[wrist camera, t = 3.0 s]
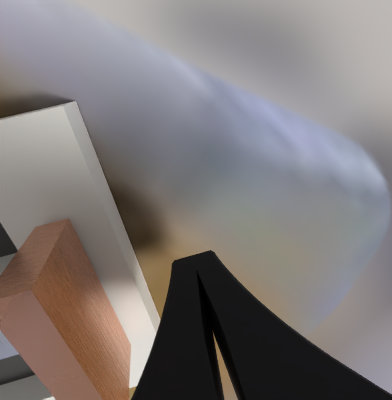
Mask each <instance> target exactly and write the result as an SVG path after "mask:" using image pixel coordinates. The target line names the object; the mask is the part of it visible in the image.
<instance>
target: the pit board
mask: <svg viewBox="0 0 392 400" xmlns="http://www.w3.org/2000/svg"><path fill="white" fill-rule="evenodd" d="M67 218H69V219H70V221H71V224H72V226H73V228H74V230H75V232H76V234H77V236H78V238H79V240H80V242H81V244H82V246H83V248H84V250H85V252H86V254H87V256H88V258H89V260H90V262H91V264H92V266H93V269H94V271H95V273H96V275H97V277H98V279H99V281H100V283H101V285H102V287H103V289H104V291H105V293H106V295H107V297H108V299H109V301H110V303H111V305H112V307H113V309H114V311H115V313H116V316H117V318H118V320H119V322H120V324H121V326H122V328H123V330H124V332H125V334H126V336H127V338H128V340H129V342H130V344H131V359H130V380H129V388H131V387H134V386H137V385H138V382H139V380H140V377H141V375H142V372H143V370H144V367H145V365H146V362H147V359H148V357H149V354H150V351H151V348H152V346H153V342H154V339H155V336H156V333H157V330H158V327H159V324H160V321H161V320H160V318H159V315H158V312H157V310H156V307H155V305H154V302H153V300H152V297H151V294H150V292H149V289H148V287H147V284H146V281H145V279H144V276H143V274H142V271H141V269H140V266H139V263H138V261H137V258H136V256H135V253H134V250H133V248H132V245H131V243H130V240H129V238H128V235H127V232H126V230H125V227H124V225H123V222H122V219H121V217H120V214H119V212H118V209H117V207H116V204H115V201H114V199H113V196H112V194H111V191H110V188H109V186H108V183H107V181H106V178H105V176H104V173H103V170H102V168H101V165H100V163H99V160H98V157H97V155H96V152H95V150H94V147H93V145H92V142H91V139H90V137H89V134H88V132H87V129H86V126H85V124H84V121H83V119H82V116H81V113H80V111H79V108H78V106H77V103H76V101H73V102H69V103H64V104H60V105H56V106H51V107H47V108H43V109H39V110H34V111H30V112H26V113H22V114H17V115H13V116H9V117H4V118H0V275H1V274H2V272H3V271H4V269H5V268H6V267H7V265H8V264H9V263H10V261H11V260H12V258H13V257H14V256H15V254H16V253H17V251H18V250H19V249H20V247H21V246H22V245H23V243H24V242H25V240H26V239H27V238H28V236H29V235H30V233H31V232H32V231H33V229H34V228H35V227H37V226H41V225H45V224H48V223H52V222H56V221H60V220H64V219H67ZM0 400H56V399H55V398H54V397H53V396H52V394H51V393H50V392H49V391H48V389H47V388H46V387H45V386H44V384H43V383H42V382H41V381H40V379H39V378H38V377H37V376H36V374H35V373H34V372H33V371H32V369H31V368H30V367H29V366H28V364H27V363H26V362H25V361H24V359H23V358H22V357H21V356H20V354H18V355H14V356H11V357H8V358H4V359H1V360H0Z"/></svg>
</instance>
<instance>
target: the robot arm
mask: <svg viewBox="0 0 392 400" xmlns="http://www.w3.org/2000/svg"><path fill="white" fill-rule="evenodd" d="M212 330H213V331H212ZM213 333H214V336H215V338H216V341H217V344H218V347H219V349H220V352H221V355H222V357H223V360H224V363H225V366H226V368H227V371H228V374H229V376H230V379H231V382H232V384H233V387H234V390H235V393H236V395H237V398H238V400H392V394H390V393H388V392H387V391H385V390H383V389H382V388H380V387H378V386H377V385H375V384H374V383H372V382H371V381H369V380H367V379H366V378H364V377H363V376H361V375H359V374H358V373H356V372H355V371H353V370H352V369H350V368H349V367H347V366H345V365H344V364H342V363H341V362H339V361H338V360H336V359H334V358H333V357H331V356H330V355H328V354H327V353H325V352H324V351H323V350H321V349H320V348H318V347H317V346H316V345H314V344H312V343H311V342H310V341H308V340H307V339H306V338H304V337H303V336H302V335H300V334H299V333H298V332H296V331H295V330H294V329H292V328H291V327H290V326H288V325H287V324H286V323H285V322H283V321H282V320H281V319H280V318H278V317H277V316H276V315H275V314H274V313H272V312H271V311H270V310H269V309H268V308H267V307H266V306H264V305H263V304H262V303H261V302H260V301H259V300H258V299H257V298H255V297H254V296H253V295H252V294H251V293H250V292H249V291H248V290H247V289H246V288H245V287H244V286H243V285H242V284H241V283H240V282H239V281H238V280H237V279H236V278H235V277H234V276H233V275H232V274H231V273H230V272H229V270H228V269H227V268H226V267H225V266H224V265H223V263H222V262H221V261H220V260H219V258H218V257H217V256H216V254H215V252H213V251H211V250H210V251H206V252H203V253H199V254H196V255H192V256H188V257H185V258H181V259H178V260H174V262H173V263H172V270H171V278H170V284H169V289H168V294H167V298H166V302H165V306H164V309H163V313H162V317H161V321H160V324H159V327H158V330H157V333H156V336H155V339H154V342H153V346H152V348H151V351H150V354H149V357H148V359H147V362H146V365H145V367H144V370H143V372H142V375H141V377H140V380H139V382H138V385H137V387H136V390H135V392H134V394H133V396H132V399H131V400H224V394H223V388H222V383H221V377H220V371H219V365H218V360H217V354H216V348H215V342H214V337H213Z"/></svg>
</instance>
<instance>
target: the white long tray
mask: <svg viewBox="0 0 392 400" xmlns="http://www.w3.org/2000/svg"><path fill="white" fill-rule="evenodd" d="M18 354H20V356H21V357H22V358H23V359H24V361H25V362H26V363H27V364H28V366H29V367H30V368H31V369H32V371H33V372H34V373H35V374H36V376H37V377H38V378H39V379H40V381H41V382H42V383H43V384H44V386H45V387H46V388H47V389H48V391H49V392H50V393H51V394H52V396H53V397H54V398H55V399H56V400H129V380H130V359H131V344H130V342H129V340H128V338H127V336H126V334H125V332H124V330H123V328H122V326H121V324H120V322H119V320H118V318H117V316H116V313H115V311H114V309H113V307H112V305H111V303H110V301H109V299H108V297H107V295H106V293H105V291H104V289H103V287H102V285H101V283H100V281H99V279H98V277H97V275H96V273H95V271H94V269H93V266H92V264H91V262H90V260H89V258H88V256H87V254H86V252H85V250H84V248H83V246H82V244H81V242H80V240H79V238H78V236H77V234H76V232H75V230H74V228H73V226H72V224H71V221H70V219H69V218H67V219H64V220H60V221H56V222H52V223H48V224H45V225H41V226H37V227H35V228H34V229H33V231H32V232H31V233H30V235H29V236H28V238H27V239H26V240H25V242H24V243H23V245H22V246H21V247H20V249H19V250H18V251H17V253H16V254H15V256H14V257H13V258H12V260H11V261H10V263H9V264H8V265H7V267H6V268H5V269H4V271H3V272H2V274H1V275H0V360H1V359H4V358H8V357H11V356H14V355H18Z"/></svg>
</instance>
